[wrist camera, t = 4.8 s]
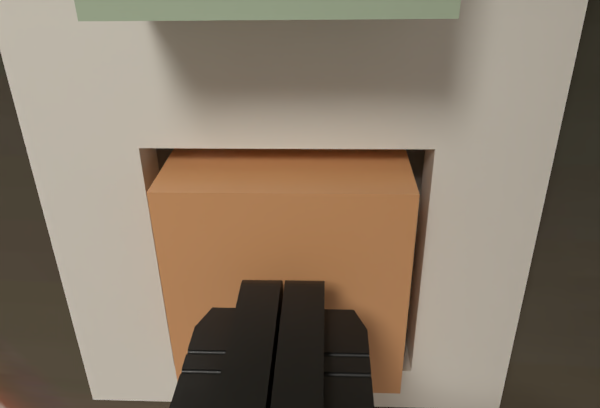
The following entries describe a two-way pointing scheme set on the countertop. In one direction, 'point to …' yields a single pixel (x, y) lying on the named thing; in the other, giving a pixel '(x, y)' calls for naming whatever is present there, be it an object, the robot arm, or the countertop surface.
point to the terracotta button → (289, 236)
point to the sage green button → (263, 10)
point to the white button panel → (298, 135)
